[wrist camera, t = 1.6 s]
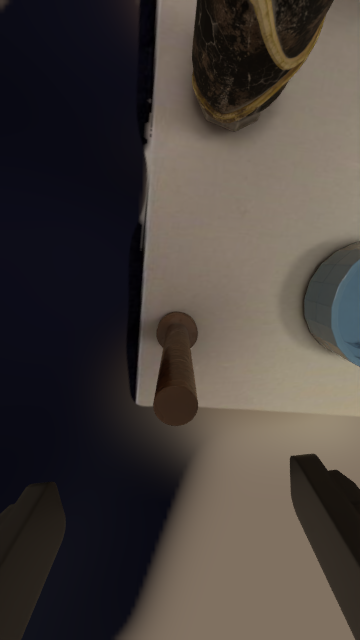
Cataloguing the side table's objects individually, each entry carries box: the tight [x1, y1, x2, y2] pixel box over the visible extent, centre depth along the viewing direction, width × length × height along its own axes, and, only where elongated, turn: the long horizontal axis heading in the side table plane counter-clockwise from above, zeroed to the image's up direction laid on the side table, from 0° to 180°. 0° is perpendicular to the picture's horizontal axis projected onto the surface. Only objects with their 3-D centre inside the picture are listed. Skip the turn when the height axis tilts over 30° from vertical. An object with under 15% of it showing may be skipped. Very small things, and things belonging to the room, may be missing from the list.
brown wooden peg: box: [153, 312, 198, 426], centre depth 21 cm, size 4×4×15 cm
